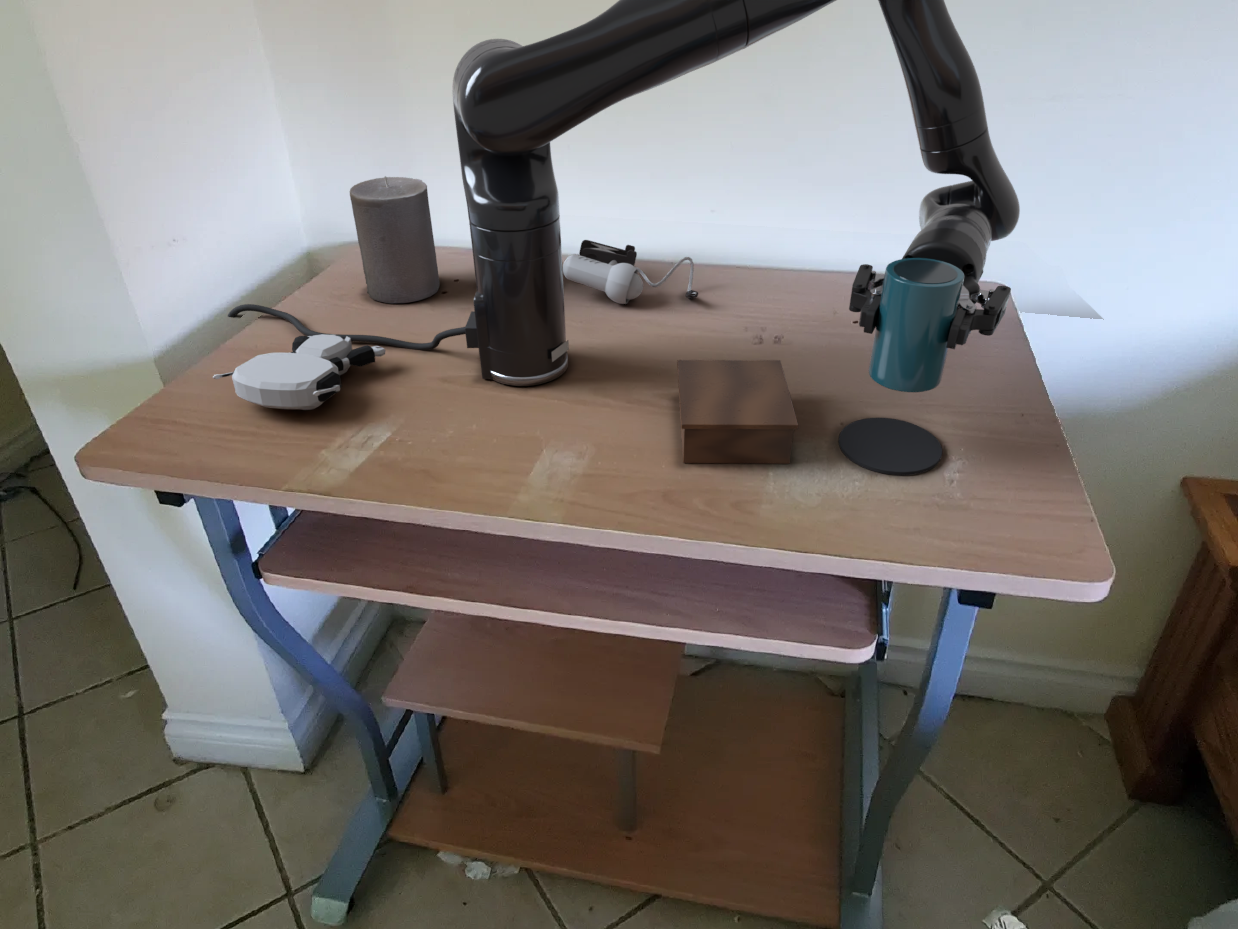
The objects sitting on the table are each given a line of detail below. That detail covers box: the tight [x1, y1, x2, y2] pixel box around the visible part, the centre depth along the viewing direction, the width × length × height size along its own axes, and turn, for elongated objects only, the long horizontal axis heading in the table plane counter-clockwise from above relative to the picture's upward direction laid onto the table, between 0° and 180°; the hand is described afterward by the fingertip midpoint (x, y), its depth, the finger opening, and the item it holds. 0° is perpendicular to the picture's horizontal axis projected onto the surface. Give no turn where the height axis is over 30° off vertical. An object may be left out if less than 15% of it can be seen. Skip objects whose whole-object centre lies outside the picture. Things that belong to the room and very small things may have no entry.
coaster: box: [838, 417, 943, 476], centre depth 83 cm, size 10×10×1 cm
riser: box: [676, 359, 799, 465], centre depth 84 cm, size 11×13×4 cm
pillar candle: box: [349, 175, 441, 304], centre depth 111 cm, size 10×10×15 cm
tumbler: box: [868, 258, 964, 393], centre depth 76 cm, size 6×6×10 cm
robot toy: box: [212, 333, 386, 411], centre depth 92 cm, size 12×4×15 cm
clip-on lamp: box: [562, 239, 699, 305], centre depth 112 cm, size 12×6×18 cm
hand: (910, 330), depth 74 cm, fingers closed on tumbler, 6 cm apart
